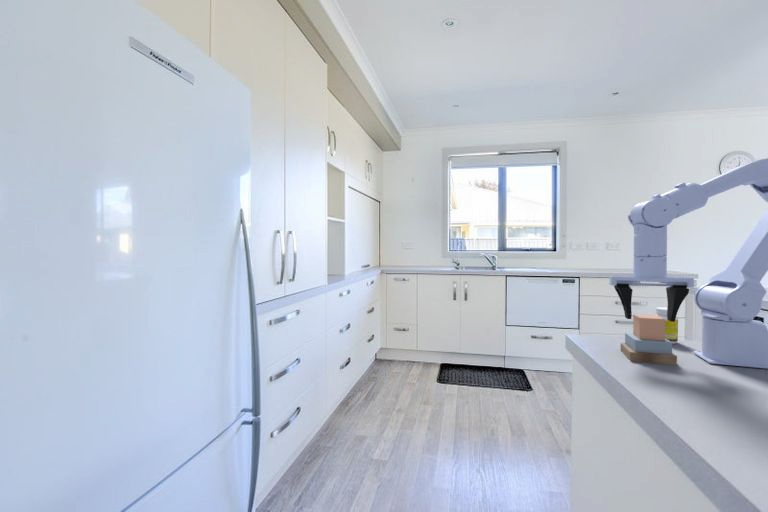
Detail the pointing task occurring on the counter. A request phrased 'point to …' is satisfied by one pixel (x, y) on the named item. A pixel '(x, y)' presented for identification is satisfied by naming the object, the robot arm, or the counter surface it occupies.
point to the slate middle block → (648, 344)
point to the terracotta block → (649, 327)
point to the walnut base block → (648, 356)
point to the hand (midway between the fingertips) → (649, 319)
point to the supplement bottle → (669, 325)
